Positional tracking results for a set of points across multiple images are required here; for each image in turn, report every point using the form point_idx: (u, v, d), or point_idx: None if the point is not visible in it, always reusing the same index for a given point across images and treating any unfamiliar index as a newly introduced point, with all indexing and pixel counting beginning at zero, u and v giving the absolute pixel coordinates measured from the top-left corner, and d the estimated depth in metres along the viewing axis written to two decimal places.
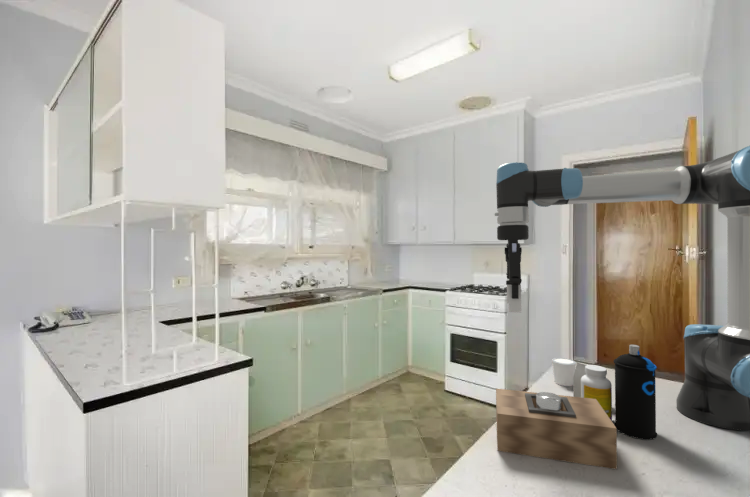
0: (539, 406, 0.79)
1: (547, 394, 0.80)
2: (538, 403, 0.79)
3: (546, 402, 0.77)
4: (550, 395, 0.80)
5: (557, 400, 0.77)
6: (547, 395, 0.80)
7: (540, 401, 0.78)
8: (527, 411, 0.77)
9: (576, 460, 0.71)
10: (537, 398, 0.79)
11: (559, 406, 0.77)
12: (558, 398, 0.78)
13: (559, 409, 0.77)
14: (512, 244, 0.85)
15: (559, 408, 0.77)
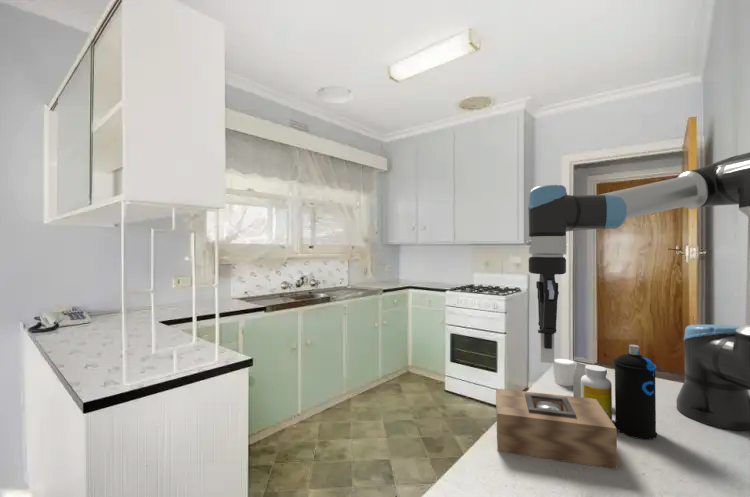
0: None
1: (547, 404, 0.80)
2: None
3: None
4: (550, 404, 0.80)
5: None
6: (547, 404, 0.80)
7: None
8: (527, 411, 0.77)
9: (576, 460, 0.71)
10: (537, 407, 0.79)
11: None
12: (558, 407, 0.78)
13: None
14: (549, 293, 0.73)
15: None
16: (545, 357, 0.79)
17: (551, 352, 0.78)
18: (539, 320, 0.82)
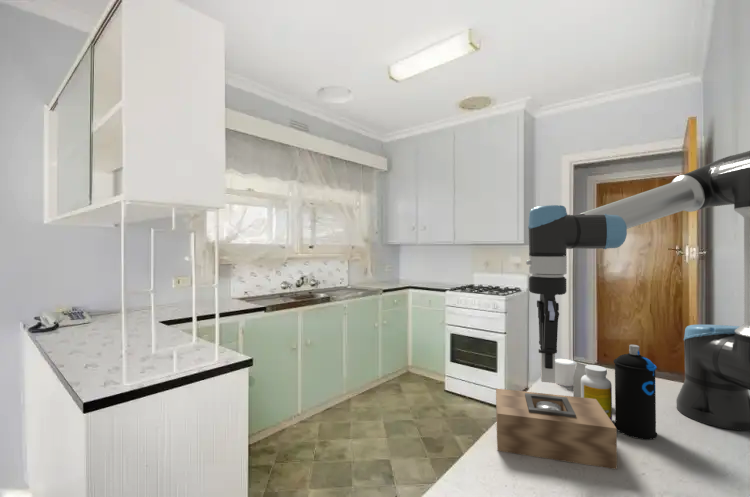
0: None
1: (547, 404, 0.80)
2: None
3: None
4: (550, 404, 0.80)
5: None
6: (547, 404, 0.80)
7: None
8: (527, 411, 0.77)
9: (576, 460, 0.71)
10: (537, 407, 0.79)
11: None
12: (558, 407, 0.78)
13: None
14: (550, 314, 0.73)
15: None
16: (546, 377, 0.79)
17: (552, 372, 0.78)
18: (540, 339, 0.82)
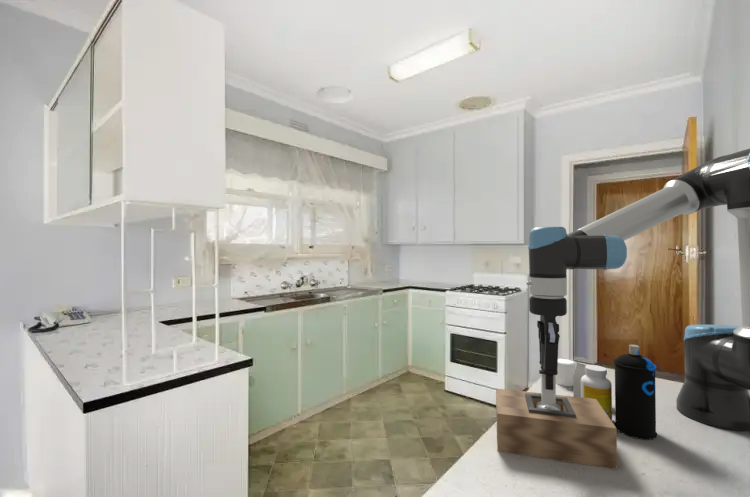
0: None
1: (547, 404, 0.80)
2: None
3: None
4: (550, 404, 0.80)
5: None
6: (547, 404, 0.80)
7: None
8: (527, 411, 0.77)
9: (576, 460, 0.71)
10: (537, 407, 0.79)
11: None
12: (558, 407, 0.78)
13: None
14: (550, 336, 0.73)
15: None
16: (546, 398, 0.79)
17: (552, 393, 0.78)
18: (540, 359, 0.82)
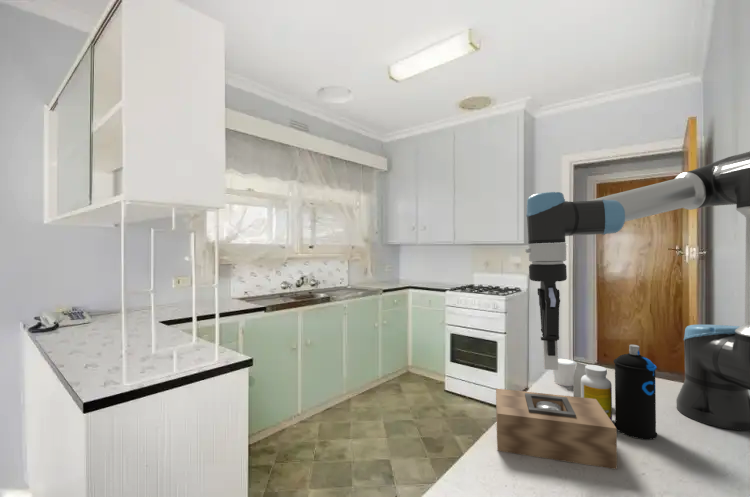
0: None
1: (547, 404, 0.80)
2: None
3: None
4: (550, 404, 0.80)
5: None
6: (547, 404, 0.80)
7: None
8: (527, 411, 0.77)
9: (576, 460, 0.71)
10: (537, 407, 0.79)
11: None
12: (558, 407, 0.78)
13: None
14: (551, 300, 0.73)
15: None
16: (549, 364, 0.79)
17: (555, 359, 0.78)
18: (542, 327, 0.82)
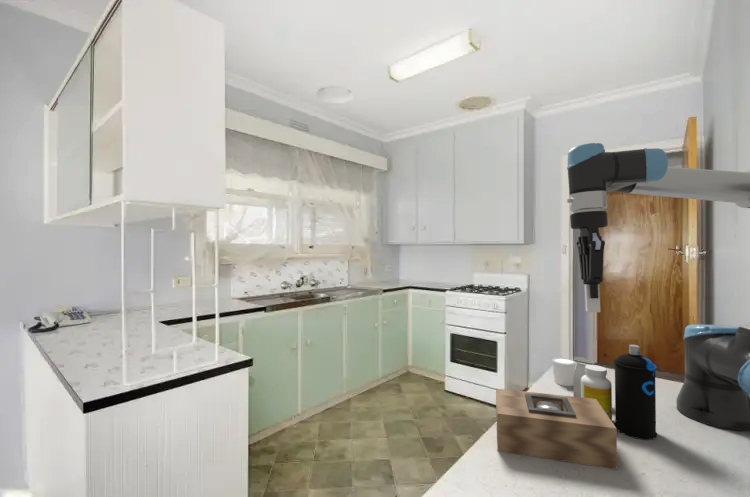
0: None
1: (547, 404, 0.80)
2: None
3: None
4: (550, 404, 0.80)
5: None
6: (547, 404, 0.80)
7: None
8: (527, 411, 0.77)
9: (576, 460, 0.71)
10: (537, 407, 0.79)
11: None
12: (558, 407, 0.78)
13: None
14: (596, 243, 0.78)
15: None
16: (591, 307, 0.83)
17: (597, 302, 0.83)
18: (582, 274, 0.87)
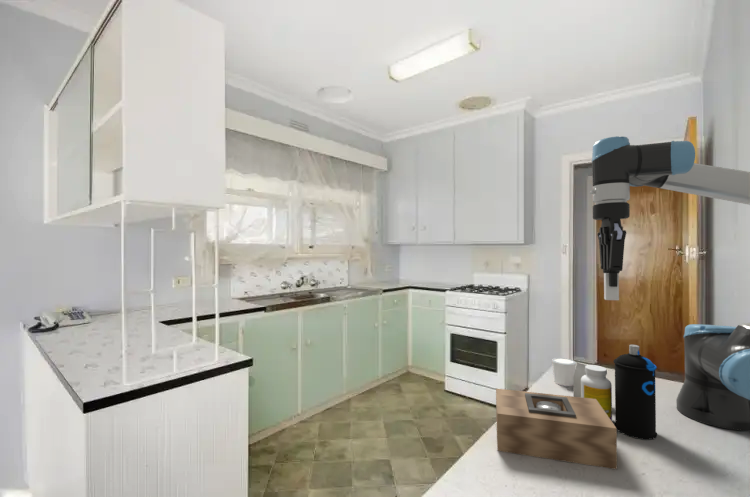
0: None
1: (547, 404, 0.80)
2: None
3: None
4: (550, 404, 0.80)
5: None
6: (547, 404, 0.80)
7: None
8: (527, 411, 0.77)
9: (576, 460, 0.71)
10: (537, 407, 0.79)
11: None
12: (558, 407, 0.78)
13: None
14: (617, 233, 0.81)
15: None
16: (610, 295, 0.86)
17: (616, 290, 0.86)
18: (602, 263, 0.90)
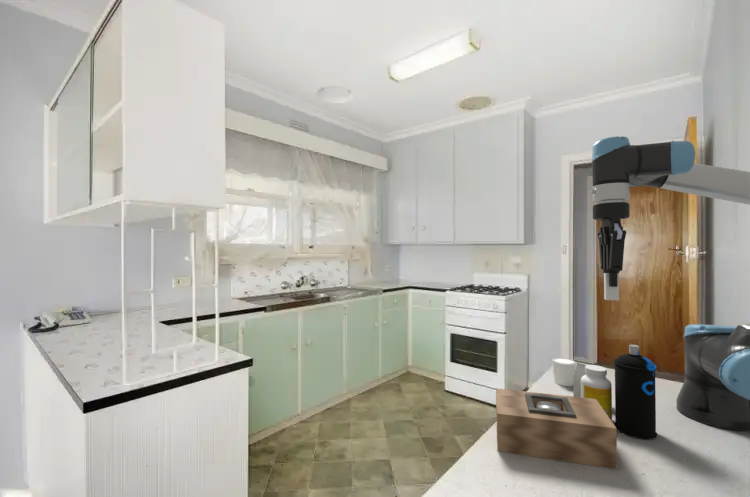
0: None
1: (547, 404, 0.80)
2: None
3: None
4: (550, 404, 0.80)
5: None
6: (547, 404, 0.80)
7: None
8: (527, 411, 0.77)
9: (576, 460, 0.71)
10: (537, 407, 0.79)
11: None
12: (558, 407, 0.78)
13: None
14: (617, 233, 0.81)
15: None
16: (610, 295, 0.86)
17: (616, 290, 0.86)
18: (602, 263, 0.90)
